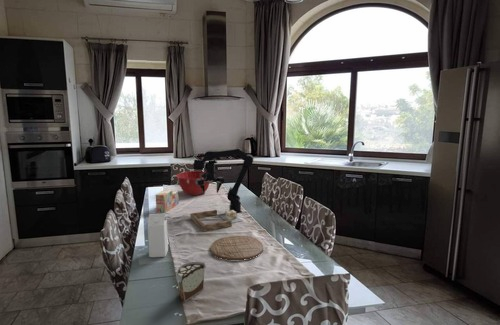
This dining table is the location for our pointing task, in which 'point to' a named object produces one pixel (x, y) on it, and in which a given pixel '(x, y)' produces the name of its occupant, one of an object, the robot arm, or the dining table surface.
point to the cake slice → (190, 279)
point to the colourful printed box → (166, 200)
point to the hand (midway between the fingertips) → (210, 193)
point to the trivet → (236, 247)
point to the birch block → (231, 215)
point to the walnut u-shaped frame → (209, 226)
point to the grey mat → (231, 219)
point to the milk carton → (157, 235)
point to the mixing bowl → (191, 182)
